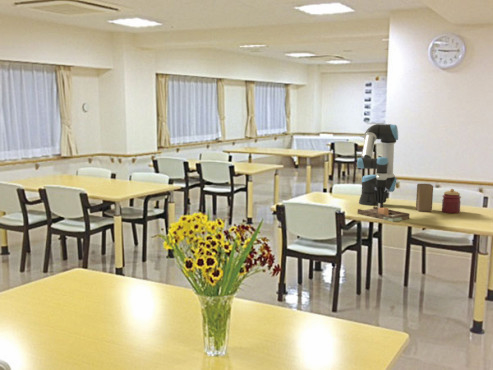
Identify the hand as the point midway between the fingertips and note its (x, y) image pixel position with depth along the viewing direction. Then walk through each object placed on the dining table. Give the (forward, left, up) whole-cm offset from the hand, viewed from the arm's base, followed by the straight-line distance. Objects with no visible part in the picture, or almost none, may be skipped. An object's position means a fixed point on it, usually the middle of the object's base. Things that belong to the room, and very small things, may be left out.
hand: (379, 211), depth 377 cm
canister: (+18, +58, -4) cm, 61 cm away
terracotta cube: (+3, 0, -2) cm, 4 cm away
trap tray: (-1, +4, -4) cm, 6 cm away
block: (+3, +46, -4) cm, 47 cm away
